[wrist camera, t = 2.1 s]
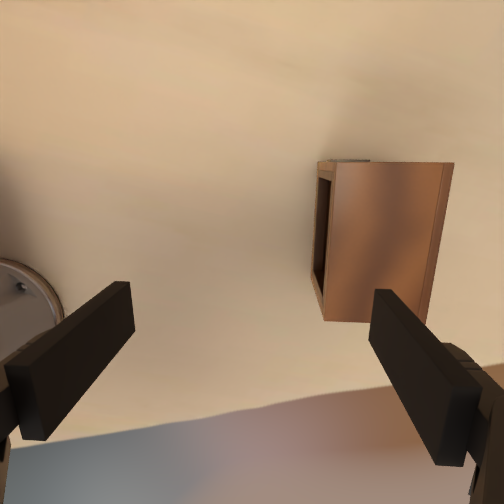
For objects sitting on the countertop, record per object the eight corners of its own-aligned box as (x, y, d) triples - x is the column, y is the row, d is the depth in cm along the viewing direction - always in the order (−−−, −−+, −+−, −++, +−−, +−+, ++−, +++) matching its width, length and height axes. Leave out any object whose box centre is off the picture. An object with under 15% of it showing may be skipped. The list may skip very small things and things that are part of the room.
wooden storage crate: (310, 279, 39) (323, 323, 28) (317, 160, 35) (336, 159, 24) (383, 281, 38) (425, 327, 28) (399, 160, 34) (455, 159, 24)
